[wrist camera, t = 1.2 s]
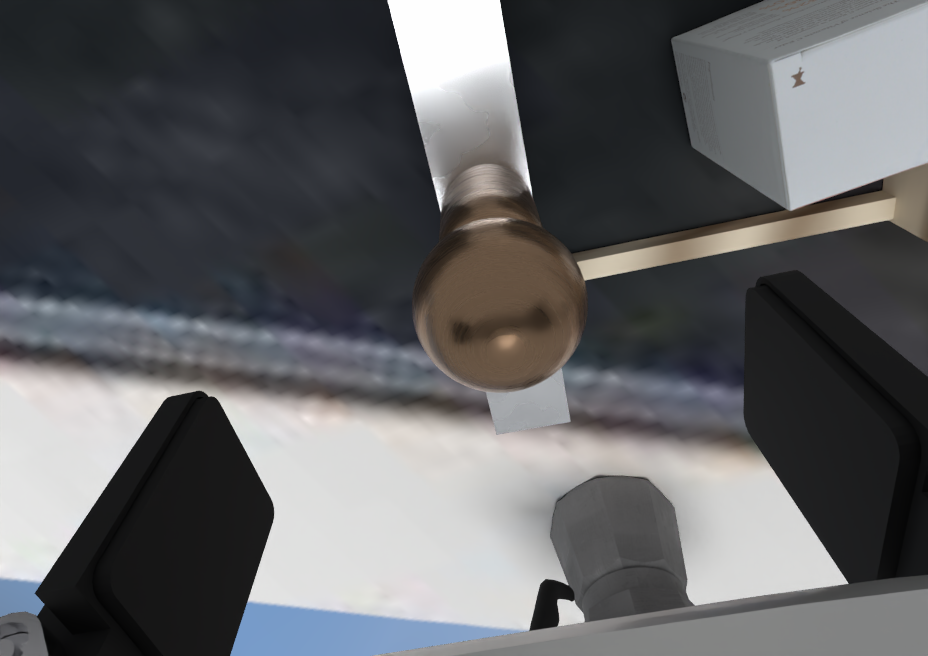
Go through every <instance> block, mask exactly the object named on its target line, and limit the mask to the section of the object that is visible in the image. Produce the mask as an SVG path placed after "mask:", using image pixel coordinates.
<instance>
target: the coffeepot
mask: <svg viewBox="0 0 928 656" xmlns="http://www.w3.org/2000/svg"><path fill="white" fill-rule="evenodd" d="M550 537H551V540H552V542H553V545H554V548H555V550H556V553H557V556H558V558H559V561H560V563H561V566H562V569H563V571H564V574H565V576H566V579H567V582H568V584H569V586H568V585H566V584H564V583H561V582H559V581H556V580H548V579H545V580H544V581H543V582H542V583H541V584H540V588H539V592H538V596H537V600H536V605H535V610H534V613H533V618H532V621H531V626H530V630H529V631H533V630H540V629H546V628H552V627H557V626H558V623H559V613H558V606H557V600H558V599H566V600H570V601H574V600H575V603H576V605H577V606H578V607H579V608H580V610H581V611H582V612H583V613H584V618H585V622H591V621H598V620H605V619H611V618H618V617H625V616H631V615H638V614H644V613H651V612H658V611H664V610H671V609H677V608H684V607H691V606H695V605H694V604H693V603H692V602H691V601H690V600H689V599H688V596H687V593H686V586H687V576H686V570H685V565H684V559H683V554H682V548H681V542H680V537H679V531H678V526H677V520H676V514H675V509H674V506H673V505H672V504H671V503H670V502H669V501H668V500H667V499H666V498H665V497H664V495H663V494H662V493H661V492H660V490H658V489H657V488H656V487H655V486H653V485H652V484H651V483H650V482H649V481H648V480H645V479H640V478H634V477H627V476H608V477H602V478H596V479H593V480H590V481H588V482H585V483H583V484H581V485H579V486H577V487H576V488H574V489H573V490H571V491H570V492H569V493H567V494H566V495H565V496H564V497H563V498H562V499H561V500H560V501H558V502H557V504H556V509H555V512H554V515H553V524H552V529H551V534H550ZM585 622H584V623H585Z"/></svg>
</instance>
